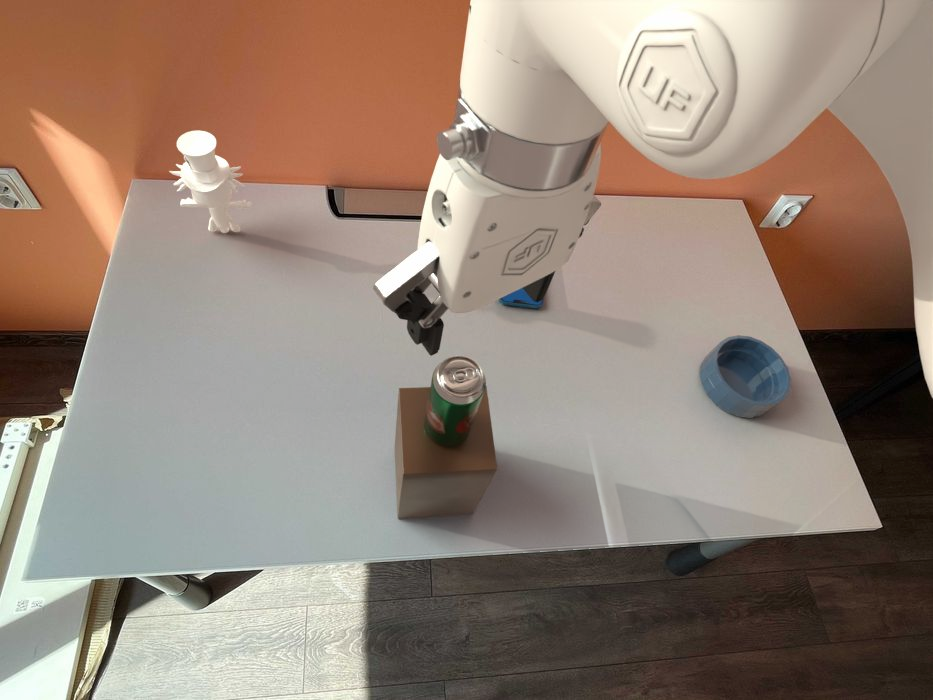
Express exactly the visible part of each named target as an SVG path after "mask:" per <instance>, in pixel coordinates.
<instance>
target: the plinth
mask: <svg viewBox="0 0 933 700" xmlns="http://www.w3.org/2000/svg"><path fill="white" fill-rule="evenodd" d="M430 387H431V386H425V387H422V386H421V387H398V393H397V394H398V395H397V410H396V420H395V433H394V434H395V435H394V465H395V467H394V468H395V486H396V487H395V490H396V493H395V494H396V514H397V515H396V517H397V520H402V519H418V518H432V517H433V518H434V517H446V516H461V515H473V514H474V513H475V511H476V510H477V507H478V506H479V503H480V502H481V500H482V498H483V497H484V495H485V492H486V491H487V489H488V487H489V486H490V484H491V482H492V480H493V478H494V476H495V474H496V473H497V471H498V463H497V462H498V461H497V455H496V448H495V440H494V434H493V425H492V417H491V411H490V402H489V396H488V389H487V388H488V386H486V387H485V391H484V394H483V397H482V399H481V402H480V405H479V408H478V410H477V413H476V416H475V419H474V422H473V424H472V427H471V430H470V433H469V435H468V437H467V438H466V439H465V440H464V441H463V442H462V443H461V444H459V445H456V446H452V447H444V446H440V445H438V444H436V443H434V442H433V441H432V440H431V439H430V438H429V437H428V436H427V434H426V431H425V428H424V421H425V415H426V409H427V404H428V398H429V393H430Z"/></svg>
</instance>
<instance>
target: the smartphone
mask: <svg viewBox="0 0 933 700" xmlns="http://www.w3.org/2000/svg"><path fill="white" fill-rule="evenodd" d="M498 301H499V303H500V304H501V305H504V306H512V307H520V308H521V307H522V308H530V309H540V308H542V306H543V304H544V299H543V300H541V301H539V302H534V301H533V300H532V299H531V298H530V297H529V295H528V294H527V293H526V292H525V291H524V289H523V288H521V289H519V290H517V291H515V292H512V293H510V294H508V295H506V296H504V297H502V298H500V299H498Z"/></svg>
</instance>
